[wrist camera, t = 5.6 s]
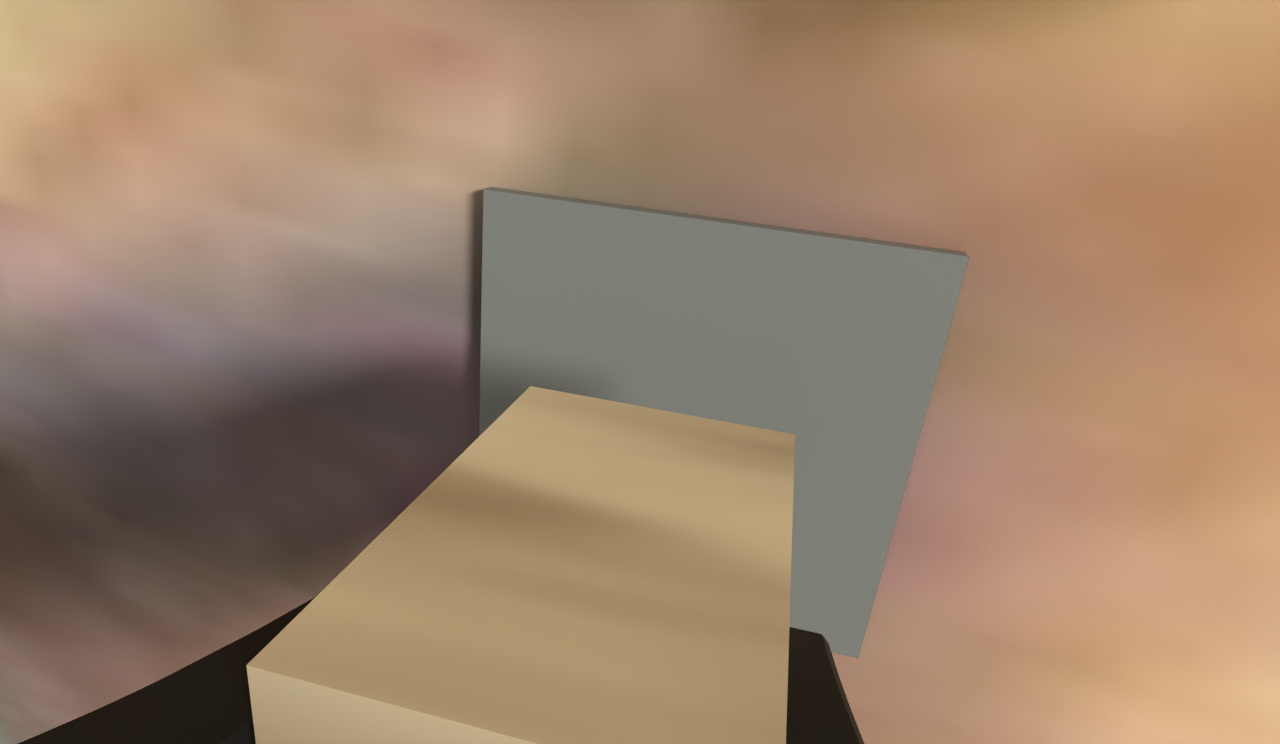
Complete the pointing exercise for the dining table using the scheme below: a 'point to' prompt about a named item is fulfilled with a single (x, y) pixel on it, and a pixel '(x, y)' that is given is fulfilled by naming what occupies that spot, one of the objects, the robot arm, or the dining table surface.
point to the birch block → (558, 593)
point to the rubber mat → (734, 355)
